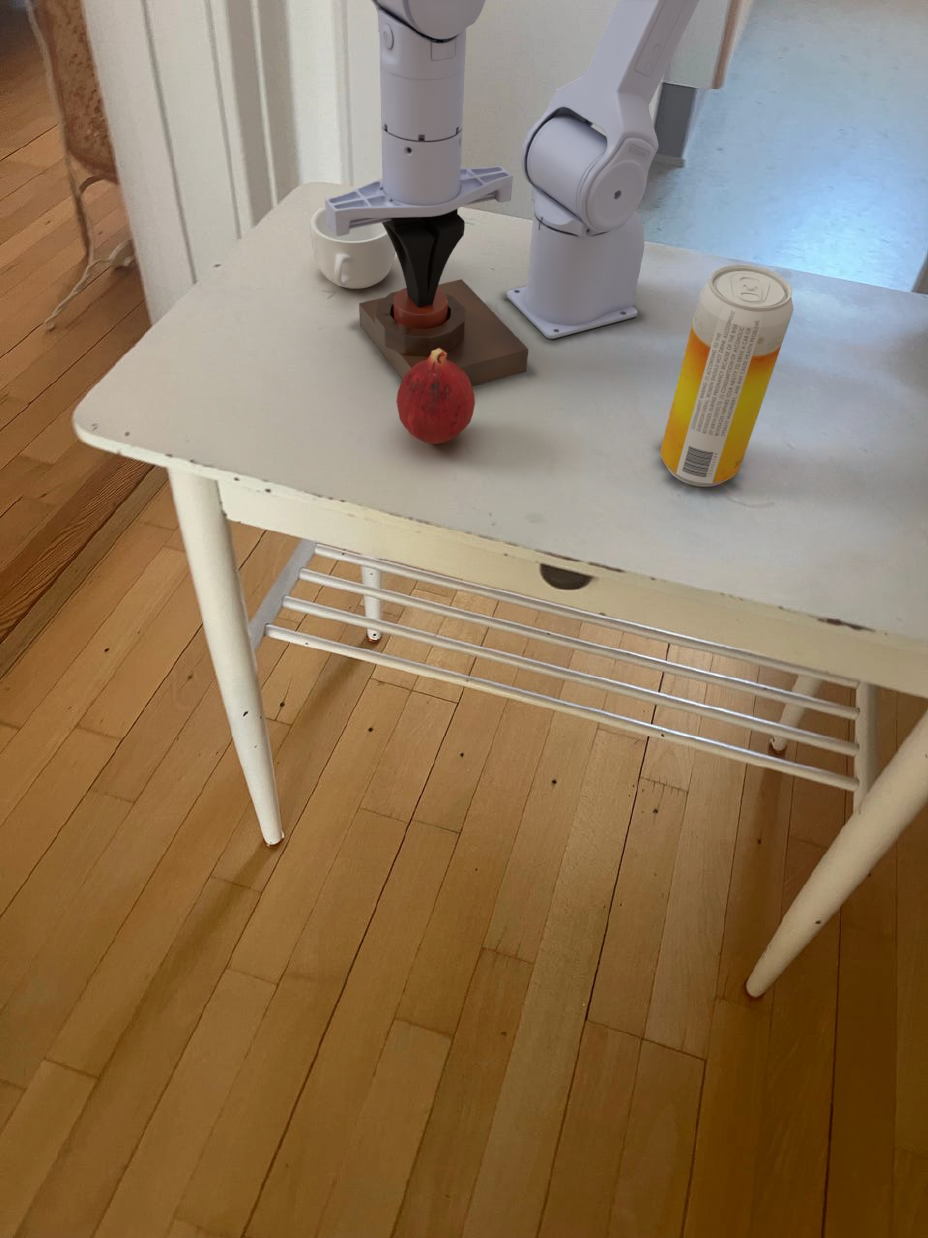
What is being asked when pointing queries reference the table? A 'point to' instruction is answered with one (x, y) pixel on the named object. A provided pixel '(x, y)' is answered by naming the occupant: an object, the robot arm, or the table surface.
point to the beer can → (725, 372)
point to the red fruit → (435, 399)
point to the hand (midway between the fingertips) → (420, 299)
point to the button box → (448, 336)
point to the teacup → (351, 253)
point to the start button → (420, 311)
